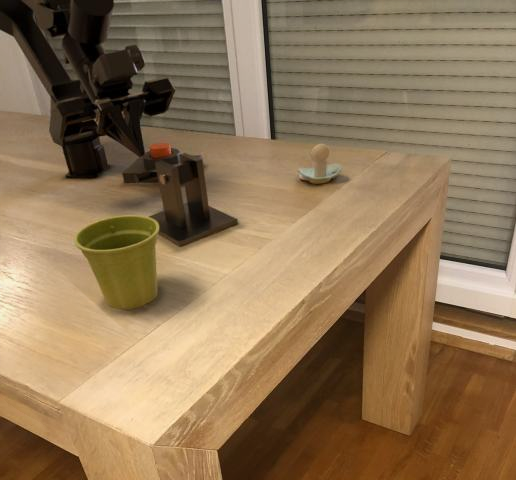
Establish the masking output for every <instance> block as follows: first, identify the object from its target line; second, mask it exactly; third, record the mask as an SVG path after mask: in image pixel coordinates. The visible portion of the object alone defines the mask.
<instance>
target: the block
mask: <svg viewBox="0 0 516 480" xmlns="http://www.w3.org/2000/svg"><path fill="white" fill-rule="evenodd" d="M170 148H171V154H172V155H169V156H167V157H162V158H153V157H151V153H150V150H149V151H145V154H144V156H141V157H137V159H136V160H135V161H134V162H132V163H131V164H130V165H129V166H128V167H127V168H126V169H125V170H124V171H123V172H121V174H122V179H123V183H124V184H138V183H137V182H136V181H135V178H134V175H135V174H139V173H142V172H145V171H148V170H151V169H155V168H156V165H155V162H157V161H160V160H161V161H164V162H166V163H169V164H171V165H175V164H178V163H181V160H180V154H181V151H180V150H179V149H177V148H173V147H170ZM191 155H192V156H195V157H197V158H200V159H202V161H203V159H204V158H203V155H201V154H198V155H197V154H196V155H195V154H191ZM203 162H204V161H203ZM140 184H159V181H158V178H154V179H150V180H147V181H144V182H141V183H140Z"/></svg>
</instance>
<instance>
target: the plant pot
mask: <svg viewBox="0 0 516 480" xmlns="http://www.w3.org/2000/svg"><path fill="white" fill-rule="evenodd" d="M158 232H159V224H158V222H157V221H156V220H154V219H152V218H150V217H149V216H145V215H138V214H126V215H123V214H122V215H115V216H110V217H106V218H102V219H99V220H97V221H94V222H91V223H89V224H86V225H85V226H83V227H81V228H80V229H79V230H78V231H77V232H76V233H74V236H73V243H74V245H75V246H76V248H77V249H79V250H80V251H81V253H82V255H83V257H84V258H85V259H86V260H87V262H88V264H89V266H90V268H91V271H92V273H93V275H94V278H95V280H96V281H97V284H98V286H99V289H100V291H101V293H102V296H103V298H104V300H105V301H106V304H107V305H108V306H110V307H112V308H113V309H117V310H132V309H133V310H134V309H137V308H140V307H144V306H146V305H147V304H148V303H151V302H153V301H154V300H155V299H156V297H157V295H158V292H159V291H158V274H157V273H158V272H157V255H156V253H157V251H156V245H157V241H158V237H157V236H158Z"/></svg>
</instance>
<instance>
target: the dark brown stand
mask: <svg viewBox="0 0 516 480" xmlns="http://www.w3.org/2000/svg"><path fill="white" fill-rule="evenodd" d="M192 155H193V154H189V153H187V152H184V153H180V160H181V163H190V166H191V169H192V173H193V177H194V180H192V181H189V182H186V183H183V186H184V191H185V196H186V197H185V198H186V202H185V203H184V199H183V192H182V187H181V184H180V180H179V174H178V168H177V167H176V166H173V165H171V164H169V163H166V162H164V161H161V160H160V161H157V162H155V165H156V170H157V175H158V181H159V183H158V185H159V186H158V187H159V190H160V196H161V201H162V207H163V211H160V212H157V213H154V214H151V215H148V217H150V218H152V219H154V220H156V221H157V222H158V224H159V232H158V234H157V236H158V235H159V236H160V237H162V238H163V239H165V240H166V241H168V242H170V243H172V244H173V245H175V246H177V247H179V248H181V247H183V246H186V245H188V244H191V243H194V242H197V241H199V240H201V239H204V238H206V237H209V236H211V235H213V234H216V233H219V232H222V231H224V230H227V229H229V228H232V227H234V226H236V225H239V220H238V218H236V217H234V216H232V215H230V214H227V213H225V212H223V211H221V210H219V209H216V208H215V207H213V206H210V205H209V198H208V192H207V185H206V177H205V176H206V175H205V168H204V161H202V159H203V158H202V159H200V158H197V157H195V156H192Z"/></svg>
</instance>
